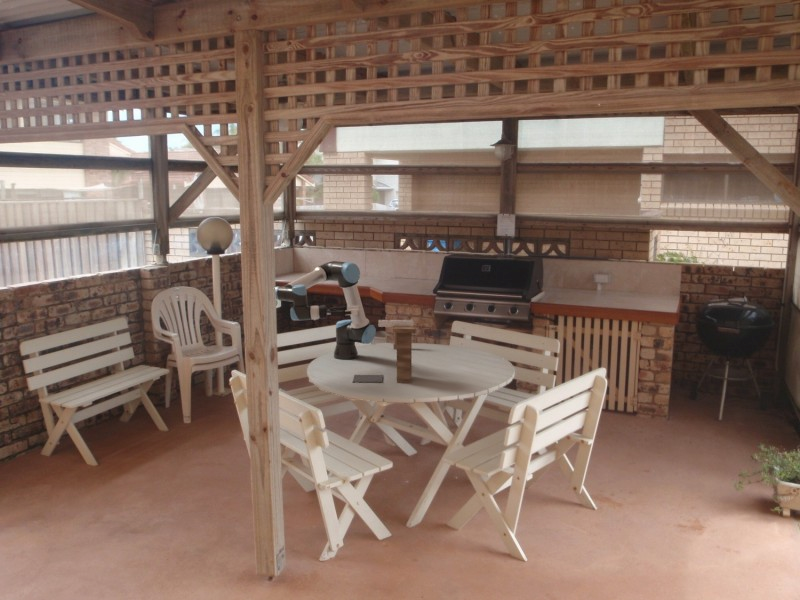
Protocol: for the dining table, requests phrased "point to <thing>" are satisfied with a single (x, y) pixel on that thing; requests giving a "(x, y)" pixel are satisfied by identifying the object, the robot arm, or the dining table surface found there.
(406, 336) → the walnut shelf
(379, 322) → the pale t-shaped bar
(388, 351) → the dining table surface
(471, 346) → the dining table surface
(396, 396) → the dining table surface
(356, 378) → the rubber mat
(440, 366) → the dining table surface
